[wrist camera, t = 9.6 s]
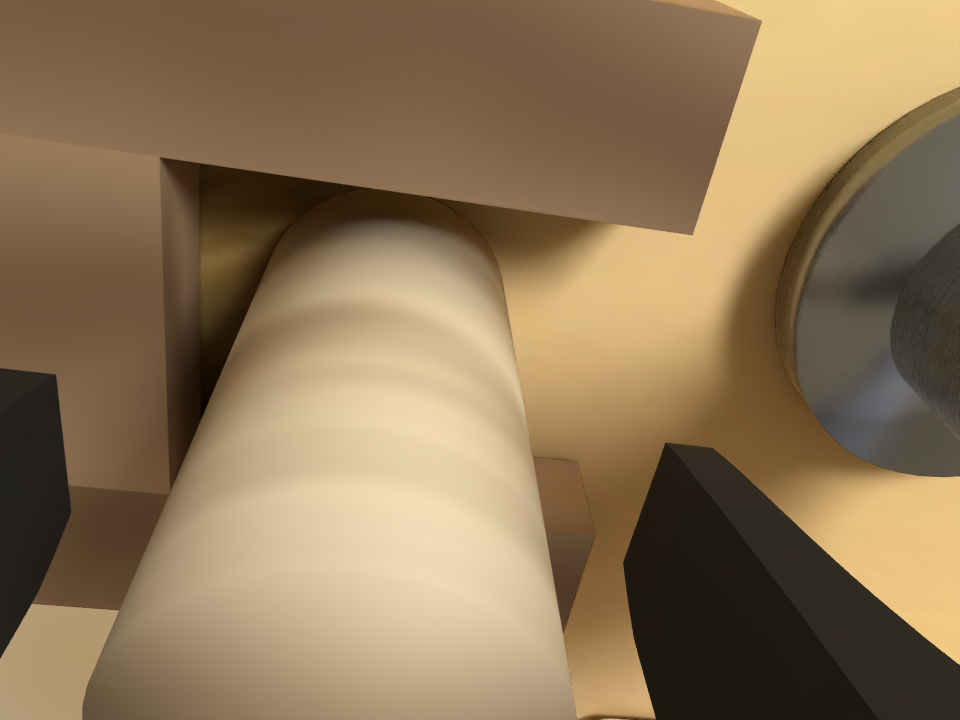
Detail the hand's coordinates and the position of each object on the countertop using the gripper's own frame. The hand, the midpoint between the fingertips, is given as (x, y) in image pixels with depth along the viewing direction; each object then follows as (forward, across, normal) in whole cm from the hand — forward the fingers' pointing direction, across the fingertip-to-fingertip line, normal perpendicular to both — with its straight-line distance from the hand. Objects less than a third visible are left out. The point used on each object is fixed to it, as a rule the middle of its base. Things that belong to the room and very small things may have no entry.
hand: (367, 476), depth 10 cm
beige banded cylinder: (+4, 0, 0) cm, 4 cm away
